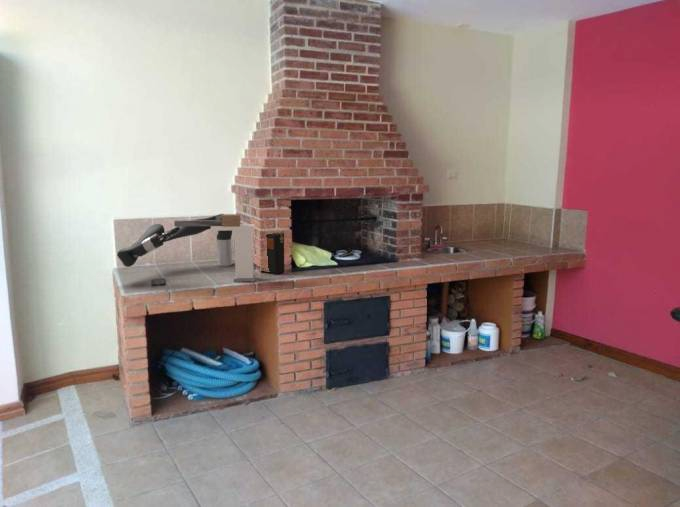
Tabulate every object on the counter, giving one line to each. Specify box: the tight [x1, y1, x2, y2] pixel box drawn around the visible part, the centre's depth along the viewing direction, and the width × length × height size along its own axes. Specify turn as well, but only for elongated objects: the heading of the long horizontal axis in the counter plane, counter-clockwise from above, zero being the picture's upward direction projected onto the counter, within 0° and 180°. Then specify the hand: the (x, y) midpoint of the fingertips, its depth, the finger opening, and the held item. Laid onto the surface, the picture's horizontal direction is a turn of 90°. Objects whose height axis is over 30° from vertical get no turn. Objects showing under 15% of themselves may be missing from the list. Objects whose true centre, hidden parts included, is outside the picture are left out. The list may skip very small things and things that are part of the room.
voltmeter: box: [266, 232, 285, 275], centre depth 334 cm, size 16×9×25 cm, turn 59°
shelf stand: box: [210, 223, 256, 283], centre depth 312 cm, size 10×24×32 cm, turn 98°
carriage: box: [174, 213, 241, 227], centre depth 307 cm, size 7×36×6 cm, turn 98°
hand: (178, 228), depth 305 cm, fingers open, 8 cm apart
